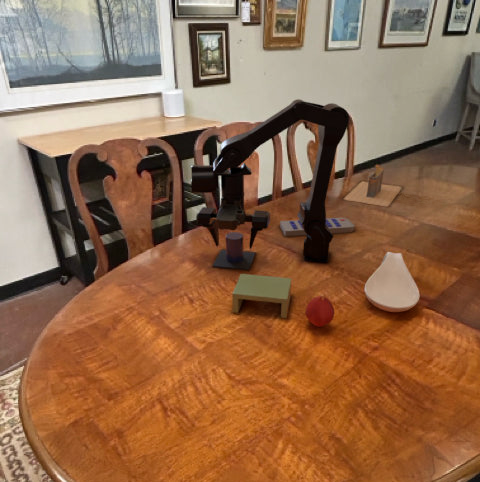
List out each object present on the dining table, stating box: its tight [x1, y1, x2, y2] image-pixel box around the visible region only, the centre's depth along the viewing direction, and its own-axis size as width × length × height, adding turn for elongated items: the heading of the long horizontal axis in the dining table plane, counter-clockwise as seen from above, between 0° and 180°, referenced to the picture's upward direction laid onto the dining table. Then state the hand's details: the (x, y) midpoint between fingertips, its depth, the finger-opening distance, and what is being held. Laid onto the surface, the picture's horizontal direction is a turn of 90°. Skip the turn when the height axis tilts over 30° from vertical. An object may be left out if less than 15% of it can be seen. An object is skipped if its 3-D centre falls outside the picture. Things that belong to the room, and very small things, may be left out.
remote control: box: [279, 217, 356, 237], centre depth 132 cm, size 8×23×2 cm, turn 96°
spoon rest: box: [363, 251, 421, 313], centre depth 99 cm, size 24×12×7 cm, turn 163°
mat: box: [212, 249, 257, 271], centre depth 115 cm, size 10×10×1 cm
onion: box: [305, 294, 335, 328], centre depth 87 cm, size 6×6×8 cm
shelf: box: [231, 273, 292, 319], centre depth 95 cm, size 12×9×5 cm
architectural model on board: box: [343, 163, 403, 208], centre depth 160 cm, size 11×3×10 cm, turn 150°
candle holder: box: [225, 231, 245, 263], centre depth 113 cm, size 5×5×7 cm
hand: (234, 247), depth 113 cm, fingers open, 9 cm apart
